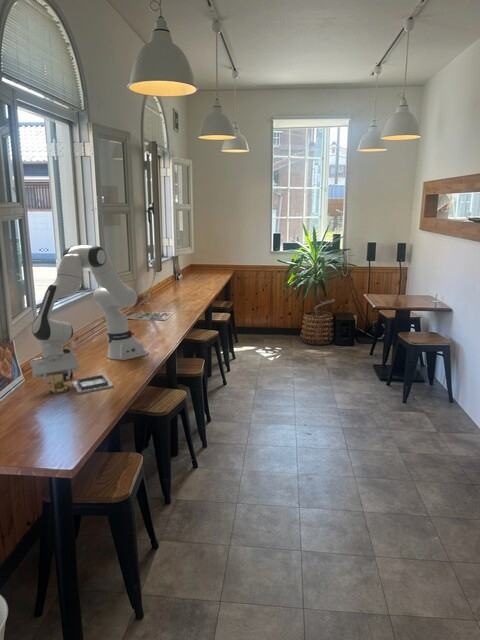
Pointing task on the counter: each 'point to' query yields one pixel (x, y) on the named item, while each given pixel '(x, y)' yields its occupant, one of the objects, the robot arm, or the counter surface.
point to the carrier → (92, 384)
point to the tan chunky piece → (58, 384)
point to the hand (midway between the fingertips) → (58, 381)
